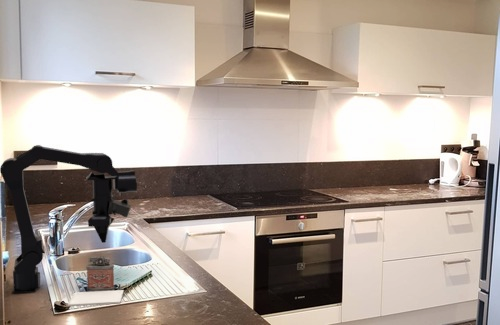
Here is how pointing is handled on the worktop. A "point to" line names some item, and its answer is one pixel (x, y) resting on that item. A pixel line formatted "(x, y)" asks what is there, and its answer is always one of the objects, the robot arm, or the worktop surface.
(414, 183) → the worktop surface
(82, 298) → the mat
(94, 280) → the lighter
